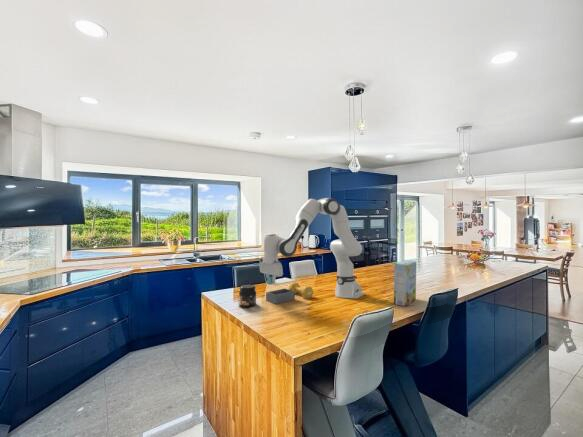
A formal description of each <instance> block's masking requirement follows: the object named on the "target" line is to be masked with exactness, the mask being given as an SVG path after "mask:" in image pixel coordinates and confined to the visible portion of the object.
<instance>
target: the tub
mask: <svg viewBox="0 0 583 437" xmlns="http://www.w3.org/2000/svg"><path fill="white" fill-rule="evenodd" d="M295 299H296V294H295V291H293V290H289V288H281V289H276V290H271V291H266V292H265V301H266V302H268V303H272V304H275V305H277V304H282V303H286V302H290V301H294V300H295Z"/></svg>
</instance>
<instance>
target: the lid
mask: <svg viewBox="0 0 583 437" xmlns="http://www.w3.org/2000/svg"><path fill="white" fill-rule="evenodd" d="M271 279H273V277H272V276H270V277H268V278H267V277H266V281H265V283H266V284H267V285H268V286H269V285H271V286H272V285H274V286H280V285H285V284H289V283H290V284H291V283H294V282H297V280H296V279H293V278H290V277H289V278H288V277H283V278H278V279H275V282H272V281H271Z"/></svg>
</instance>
